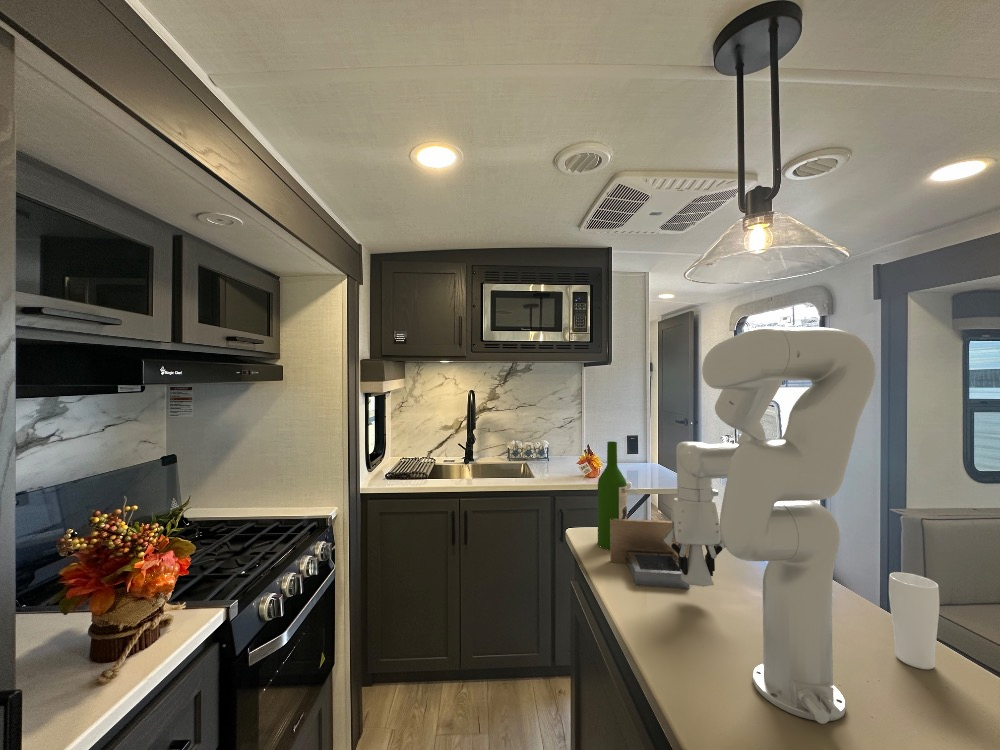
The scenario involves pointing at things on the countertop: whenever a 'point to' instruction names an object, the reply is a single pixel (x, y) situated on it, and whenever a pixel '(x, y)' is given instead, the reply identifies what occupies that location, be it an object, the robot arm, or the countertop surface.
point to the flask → (697, 568)
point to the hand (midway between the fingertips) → (696, 572)
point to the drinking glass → (914, 618)
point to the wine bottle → (610, 496)
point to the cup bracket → (646, 552)
